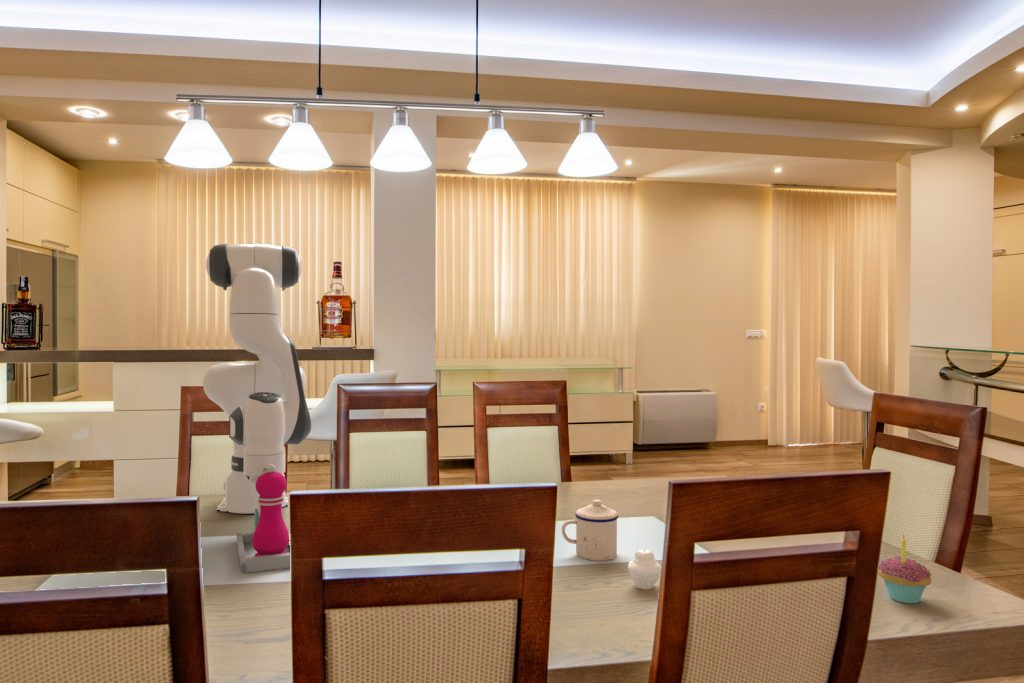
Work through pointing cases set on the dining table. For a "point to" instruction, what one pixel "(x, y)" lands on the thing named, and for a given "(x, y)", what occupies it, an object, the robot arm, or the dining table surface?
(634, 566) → the small white lidded pot
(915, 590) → the cupcake
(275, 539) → the pepper mill
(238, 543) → the grey rectangular frame
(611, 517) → the teacup with lid
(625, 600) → the dining table surface
